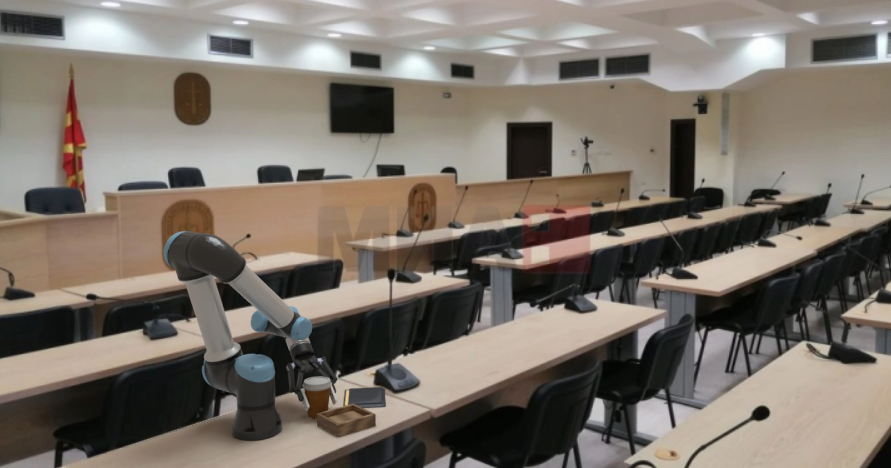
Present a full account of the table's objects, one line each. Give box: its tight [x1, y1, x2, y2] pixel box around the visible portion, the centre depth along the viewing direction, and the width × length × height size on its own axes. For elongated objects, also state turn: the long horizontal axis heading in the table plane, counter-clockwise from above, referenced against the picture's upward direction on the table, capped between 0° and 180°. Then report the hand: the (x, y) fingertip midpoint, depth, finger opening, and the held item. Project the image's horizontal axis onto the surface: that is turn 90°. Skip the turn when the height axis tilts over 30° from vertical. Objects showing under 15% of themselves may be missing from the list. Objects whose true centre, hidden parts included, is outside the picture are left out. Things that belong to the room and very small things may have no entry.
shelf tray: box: [316, 404, 377, 438], centre depth 230 cm, size 14×13×4 cm
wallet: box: [342, 386, 387, 409], centre depth 255 cm, size 20×2×15 cm
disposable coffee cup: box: [302, 376, 332, 420], centre depth 238 cm, size 10×10×12 cm
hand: (321, 405), depth 236 cm, fingers closed on disposable coffee cup, 9 cm apart
